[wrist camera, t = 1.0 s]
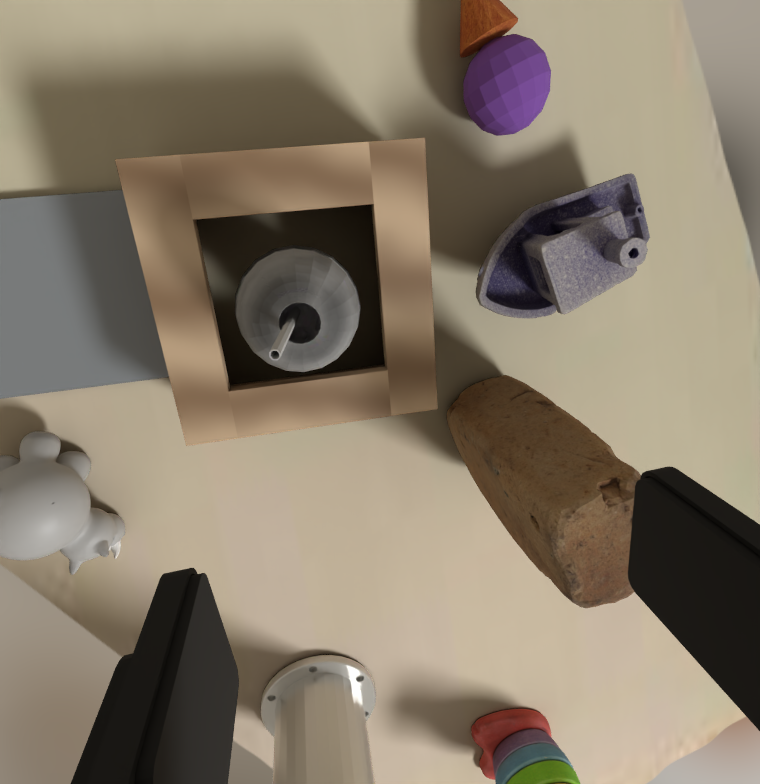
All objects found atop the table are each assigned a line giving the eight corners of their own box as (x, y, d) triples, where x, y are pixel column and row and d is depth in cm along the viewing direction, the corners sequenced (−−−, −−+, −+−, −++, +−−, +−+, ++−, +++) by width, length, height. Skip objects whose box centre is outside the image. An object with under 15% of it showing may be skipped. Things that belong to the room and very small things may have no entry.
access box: (412, 376, 43) (437, 408, 36) (205, 405, 41) (186, 445, 33) (398, 154, 37) (425, 137, 29) (153, 172, 34) (114, 159, 27)
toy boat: (604, 159, 39) (726, 140, 27) (627, 249, 42) (746, 269, 30) (437, 242, 40) (482, 260, 28) (470, 324, 43) (524, 372, 31)
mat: (172, 374, 39) (171, 376, 39) (-13, 398, 38) (-18, 400, 37) (127, 190, 35) (124, 189, 34) (-89, 206, 33) (-95, 206, 32)
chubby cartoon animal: (87, 525, 45) (74, 611, 39) (-34, 458, 37) (-75, 553, 31) (153, 490, 45) (151, 570, 39) (47, 414, 37) (22, 501, 31)
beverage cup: (355, 311, 40) (408, 388, 22) (273, 343, 40) (256, 448, 21) (322, 225, 38) (351, 227, 19) (234, 258, 37) (177, 294, 19)
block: (434, 392, 44) (538, 516, 25) (509, 361, 44) (666, 461, 26) (466, 486, 48) (577, 653, 29) (535, 457, 48) (688, 604, 30)
